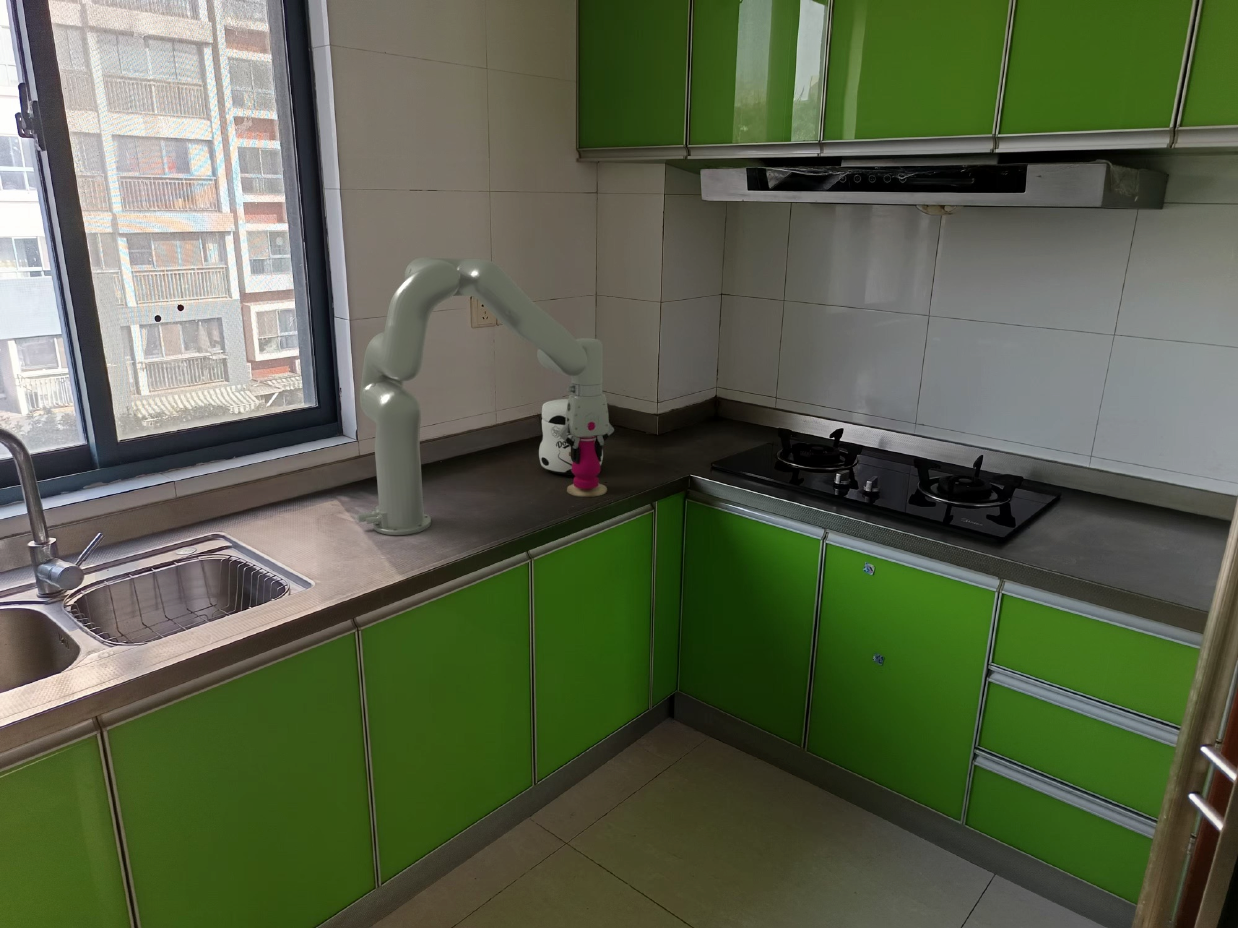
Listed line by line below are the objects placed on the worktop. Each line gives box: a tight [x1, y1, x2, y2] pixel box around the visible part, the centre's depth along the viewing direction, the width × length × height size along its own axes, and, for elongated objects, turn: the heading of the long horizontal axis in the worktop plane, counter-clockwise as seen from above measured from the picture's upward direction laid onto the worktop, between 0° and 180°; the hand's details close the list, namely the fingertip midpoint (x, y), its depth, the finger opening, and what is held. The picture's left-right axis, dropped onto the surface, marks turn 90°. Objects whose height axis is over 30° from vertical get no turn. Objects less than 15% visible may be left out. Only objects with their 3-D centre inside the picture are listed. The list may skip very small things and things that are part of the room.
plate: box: [566, 482, 608, 498], centre depth 224 cm, size 10×10×1 cm
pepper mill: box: [572, 422, 602, 489], centre depth 221 cm, size 7×7×20 cm
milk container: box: [538, 398, 604, 476], centre depth 239 cm, size 17×17×18 cm
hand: (586, 460), depth 222 cm, fingers closed on pepper mill, 5 cm apart
